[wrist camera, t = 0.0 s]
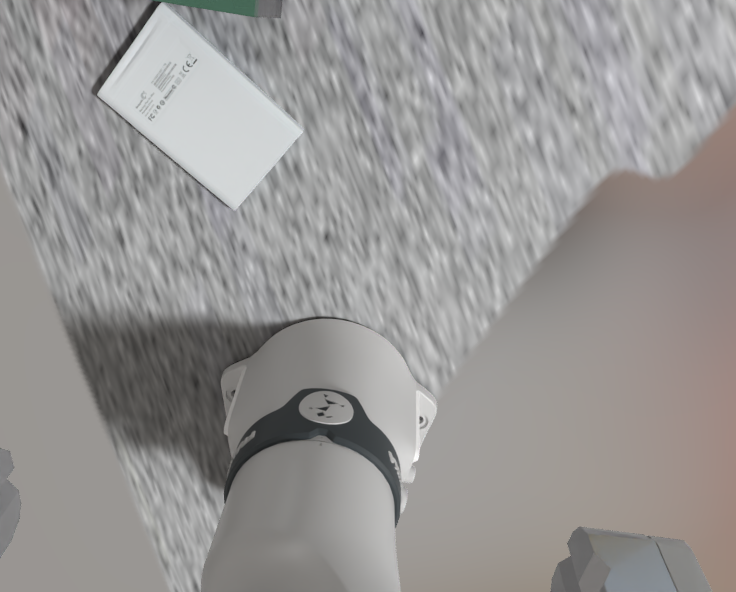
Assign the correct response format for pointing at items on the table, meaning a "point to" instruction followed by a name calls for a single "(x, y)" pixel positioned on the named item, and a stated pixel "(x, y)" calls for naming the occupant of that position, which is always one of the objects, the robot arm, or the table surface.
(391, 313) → the table surface
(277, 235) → the table surface
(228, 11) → the green-topped socket block
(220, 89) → the external hard drive
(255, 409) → the robot arm
